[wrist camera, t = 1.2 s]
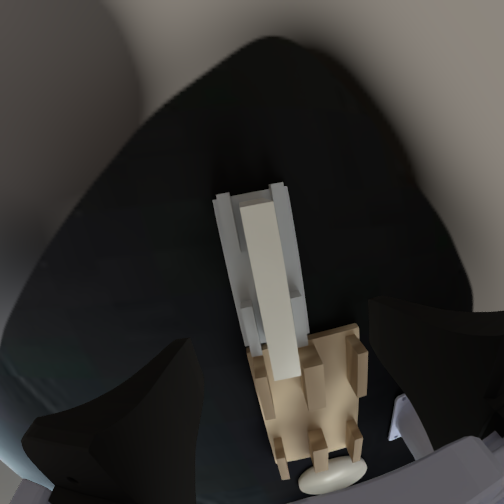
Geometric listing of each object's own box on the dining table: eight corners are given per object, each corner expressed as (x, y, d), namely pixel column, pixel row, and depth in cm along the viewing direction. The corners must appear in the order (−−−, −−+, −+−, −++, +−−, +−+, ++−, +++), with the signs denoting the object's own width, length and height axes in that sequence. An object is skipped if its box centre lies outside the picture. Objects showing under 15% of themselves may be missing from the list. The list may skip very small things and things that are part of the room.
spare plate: (366, 445, 26) (369, 452, 25) (361, 477, 28) (363, 482, 27) (294, 465, 26) (296, 472, 25) (300, 493, 28) (301, 499, 27)
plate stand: (284, 181, 19) (289, 181, 17) (308, 332, 21) (313, 344, 20) (212, 195, 19) (209, 196, 17) (245, 345, 21) (246, 358, 20)
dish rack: (355, 322, 22) (373, 344, 18) (353, 439, 25) (363, 461, 22) (246, 347, 22) (247, 374, 18) (275, 458, 25) (278, 482, 22)
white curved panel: (263, 197, 19) (273, 201, 13) (287, 332, 21) (301, 375, 15) (239, 202, 19) (239, 207, 13) (266, 336, 21) (274, 381, 15)
